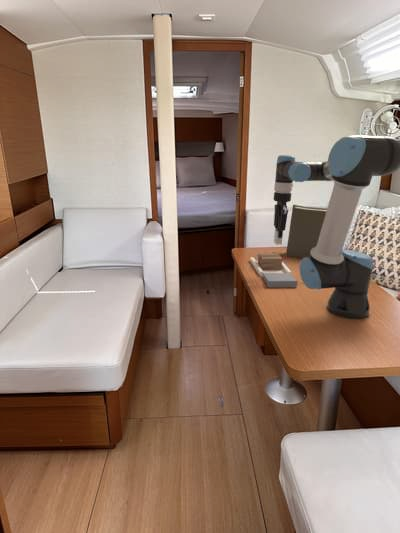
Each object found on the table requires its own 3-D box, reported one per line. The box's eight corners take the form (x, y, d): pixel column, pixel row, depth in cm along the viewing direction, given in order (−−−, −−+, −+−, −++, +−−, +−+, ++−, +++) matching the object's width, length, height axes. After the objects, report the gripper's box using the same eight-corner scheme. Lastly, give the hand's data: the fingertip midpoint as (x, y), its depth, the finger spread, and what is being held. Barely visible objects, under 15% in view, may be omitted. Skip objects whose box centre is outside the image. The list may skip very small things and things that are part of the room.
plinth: (296, 287, 163) (297, 280, 162) (268, 287, 162) (268, 281, 161) (289, 278, 172) (290, 272, 171) (262, 279, 171) (263, 273, 170)
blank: (281, 270, 180) (282, 258, 178) (261, 270, 179) (262, 258, 177) (276, 264, 188) (277, 253, 186) (257, 264, 187) (258, 253, 185)
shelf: (291, 278, 173) (291, 272, 172) (259, 278, 172) (260, 272, 171) (277, 262, 194) (278, 257, 193) (250, 262, 193) (250, 257, 192)
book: (324, 256, 208) (333, 207, 198) (327, 261, 199) (336, 210, 189) (286, 252, 211) (293, 204, 201) (286, 257, 202) (293, 207, 193)
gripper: (296, 194, 154) (290, 248, 162) (285, 189, 168) (280, 239, 176) (279, 194, 153) (274, 248, 161) (269, 189, 168) (265, 239, 176)
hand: (277, 243), depth 169 cm, fingers open, 2 cm apart
